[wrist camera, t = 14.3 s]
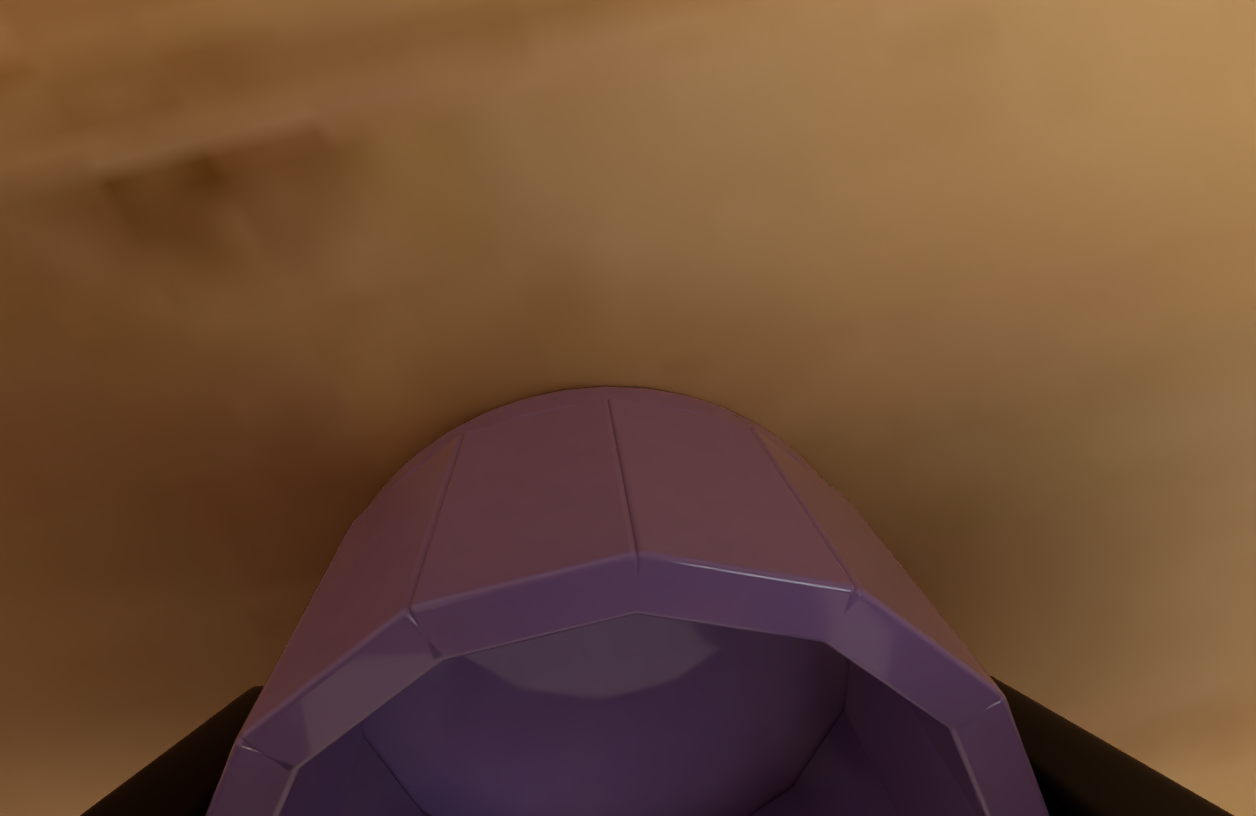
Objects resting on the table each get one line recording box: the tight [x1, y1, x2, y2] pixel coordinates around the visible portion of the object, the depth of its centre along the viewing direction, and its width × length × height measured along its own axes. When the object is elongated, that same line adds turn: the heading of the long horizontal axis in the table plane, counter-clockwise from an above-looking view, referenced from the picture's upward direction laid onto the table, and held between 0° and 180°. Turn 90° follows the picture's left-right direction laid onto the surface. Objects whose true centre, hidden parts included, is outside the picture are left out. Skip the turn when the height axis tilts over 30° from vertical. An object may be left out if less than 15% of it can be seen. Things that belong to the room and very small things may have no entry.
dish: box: [205, 387, 1050, 816], centre depth 7 cm, size 6×6×4 cm
